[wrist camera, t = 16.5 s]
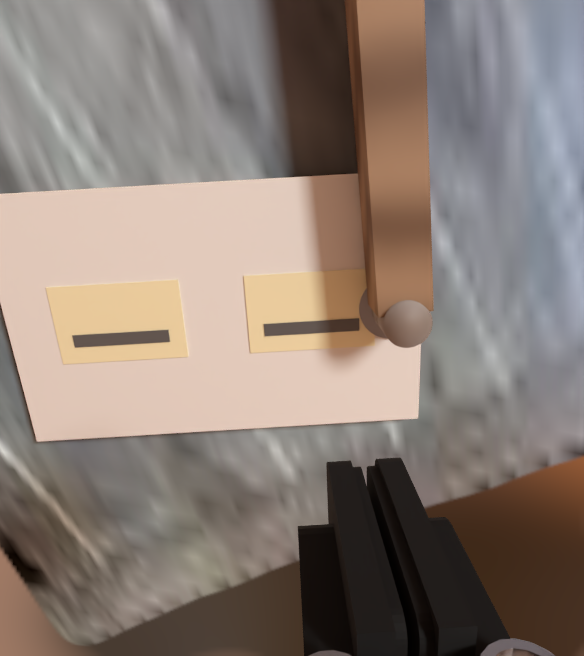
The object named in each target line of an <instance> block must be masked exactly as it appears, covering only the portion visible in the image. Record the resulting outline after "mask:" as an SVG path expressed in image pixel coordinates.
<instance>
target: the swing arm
mask: <svg viewBox="0 0 584 656" xmlns="http://www.w3.org/2000/svg"><path fill="white" fill-rule="evenodd" d="M345 10H346V23H347V37H348V50H349V63H350V76H351V89H352V102H353V115H354V128H355V141H356V154H357V167H358V180H359V194H360V207H361V220H362V233H363V246H364V259H365V272H366V285H367V298H368V305H369V306H370V308H371V309H372V316H373V318H374V320H375V322H376V323H377V324H378V326H379V327H380V329H381V330H382V331H383V333H384V334H385V335H386V337H387V338H388V339H389V340H390V342H392V343H393V344H394V345H396V346H398V347H402V348H411V347H415V346H417V345H419V344H421V343H422V342H424V341H425V340H426V339H427V337H428V336H429V334H430V332H431V330H432V324H433V321H432V316H431V314H430V312H429V311H433V277H432V244H431V210H430V176H429V142H428V108H427V74H426V41H425V7H424V0H345Z"/></svg>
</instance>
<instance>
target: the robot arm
mask: <svg viewBox="0 0 584 656" xmlns="http://www.w3.org/2000/svg"><path fill="white" fill-rule="evenodd" d="M327 493H328V520H329V524H327V525H311V526H298V538H299V558H300V575H301V576H300V578H301V598H302V617H303V637H304V656H555V655H553V654H552V653H551V652H549V651H548V650H546V649H544V648H542V647H540V646H537V645H535V644H533V643H531V642H527V641H523V640H518V639H510V637H509V635H508V633H507V631H506V629H505V627H504V625H503V624H502V621H501V619H500V617H499V616H498V614H497V612H496V610H495V608H494V606H493V604H492V602H491V600H490V598H489V596H488V595H487V592H486V591H485V588H484V587H483V585H482V583H481V581H480V579H479V577H478V575H477V573H476V571H475V569H474V567H473V565H472V563H471V561H470V559H469V557H468V556H467V554H466V552H465V550H464V548H463V546H462V544H461V542H460V541H459V538H458V536H457V534H456V532H455V531H454V528H453V526H452V525H451V523H450V522H449V520H448V519H447V518H445V517H439V518H428V516H427V514H426V512H425V509H424V507H423V505H422V503H421V500H420V498H419V496H418V494H417V492H416V489H415V487H414V485H413V483H412V481H411V478H410V476H409V474H408V472H407V470H406V467H405V465H404V463H403V461H402V459H401V458H386V459H376V460H375V466H368V467H367V486H366V483H365V479H364V476H363V472H362V469H361V467H352V463H351V461H337V462H327Z"/></svg>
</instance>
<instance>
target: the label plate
mask: <svg viewBox="0 0 584 656" xmlns="http://www.w3.org/2000/svg"><path fill="white" fill-rule="evenodd" d="M0 304H1V307H2V311H3V315H4V319H5V322H6V326H7V330H8V334H9V338H10V341H11V345H12V349H13V353H14V357H15V360H16V364H17V368H18V372H19V375H20V379H21V383H22V387H23V391H24V394H25V398H26V402H27V406H28V409H29V413H30V417H31V421H32V425H33V428H34V432H35V436H36V440H37V442H38V441H55V440H71V439H88V438H104V437H120V436H137V435H153V434H170V433H186V432H202V431H219V430H235V429H252V428H268V427H285V426H301V425H317V424H334V423H350V422H367V421H383V420H399V419H416V418H418V407H419V379H420V352H421V344H419V345H417V346H415V347H411V348H402V347H398V346H396V345H394V344H393V343H392V342H390V340H389V339H388V338H387V337H386V335H385V334H384V333H383V331H382V330H381V329H380V327H379V326H378V324H377V323H376V322H375V320H374V318H373V316H372V309H371V308H370V306H369V305H368V298H367V285H366V272H365V259H364V246H363V233H362V220H361V207H360V194H359V180H358V174H340V175H323V176H305V177H288V178H270V179H253V180H235V181H218V182H201V183H183V184H166V185H148V186H131V187H113V188H96V189H78V190H61V191H43V192H26V193H9V194H0Z"/></svg>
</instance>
